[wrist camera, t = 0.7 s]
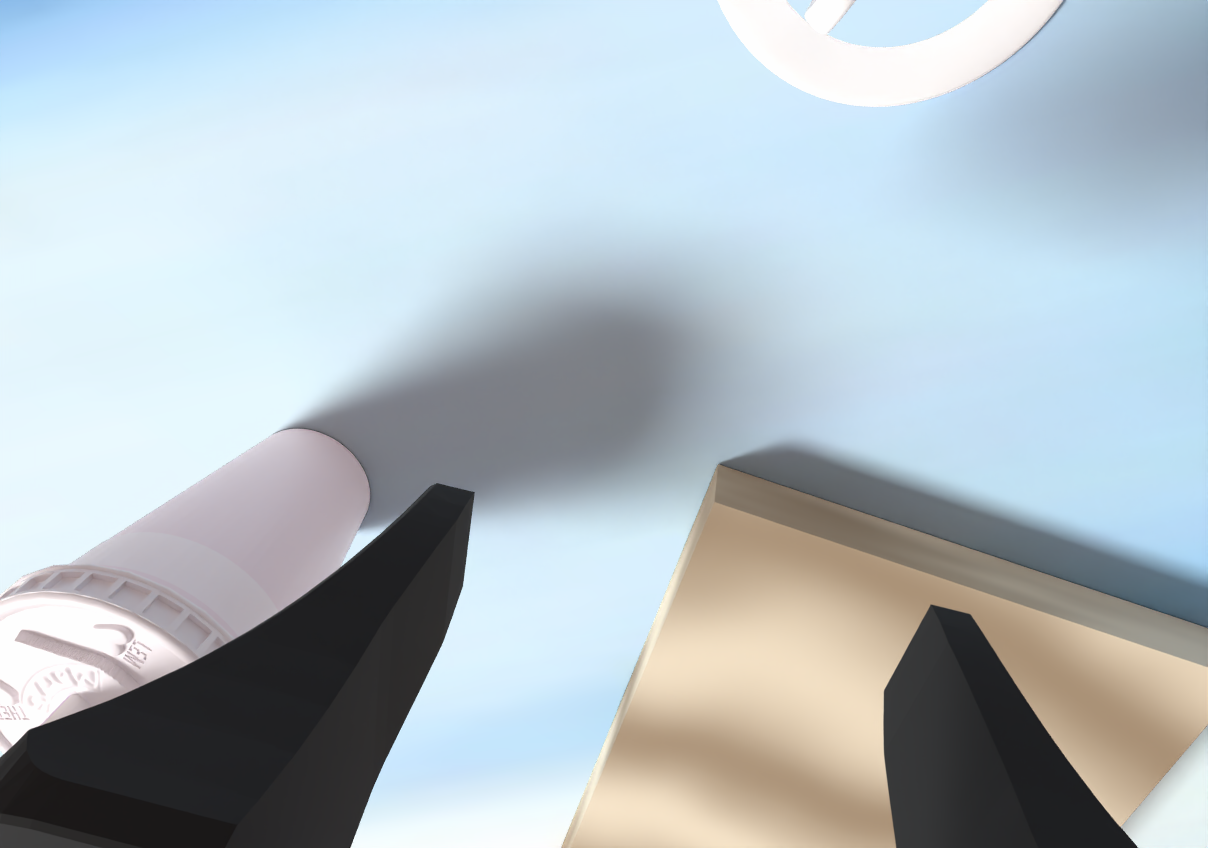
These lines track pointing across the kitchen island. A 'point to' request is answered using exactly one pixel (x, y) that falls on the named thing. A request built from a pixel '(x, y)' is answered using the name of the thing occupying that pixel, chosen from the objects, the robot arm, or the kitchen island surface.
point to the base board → (858, 677)
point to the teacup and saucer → (881, 49)
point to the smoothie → (179, 579)
